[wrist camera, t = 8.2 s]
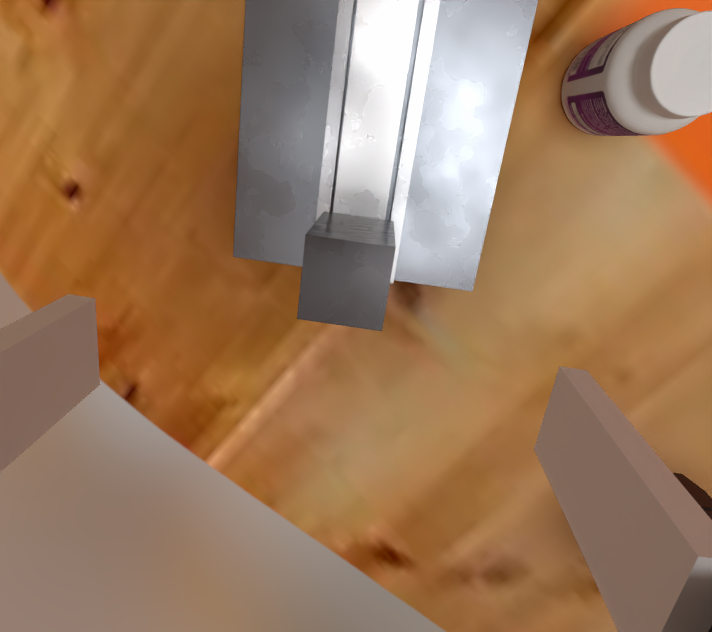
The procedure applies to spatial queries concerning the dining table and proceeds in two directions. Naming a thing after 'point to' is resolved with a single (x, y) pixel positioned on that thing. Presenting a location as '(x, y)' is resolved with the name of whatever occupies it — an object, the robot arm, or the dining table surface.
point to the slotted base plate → (415, 137)
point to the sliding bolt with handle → (362, 177)
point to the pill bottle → (643, 76)
